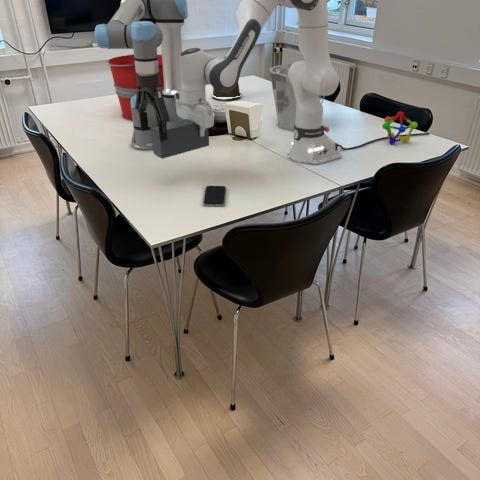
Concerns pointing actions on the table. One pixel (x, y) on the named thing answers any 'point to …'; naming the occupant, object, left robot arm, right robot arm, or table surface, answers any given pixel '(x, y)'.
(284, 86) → the bucket
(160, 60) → the bucket
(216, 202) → the smartphone
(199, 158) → the table surface
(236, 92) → the bell
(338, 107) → the table surface
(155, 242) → the table surface
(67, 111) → the table surface
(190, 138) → the box
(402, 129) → the educational toy
